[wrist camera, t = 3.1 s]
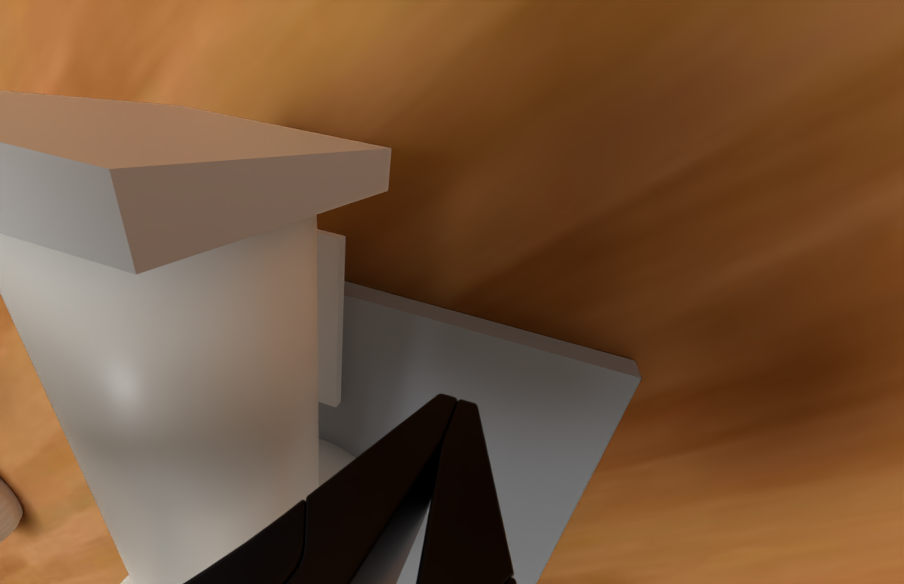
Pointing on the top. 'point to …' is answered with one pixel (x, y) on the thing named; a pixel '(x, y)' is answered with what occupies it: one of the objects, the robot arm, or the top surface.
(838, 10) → the top surface
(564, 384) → the grey square panel
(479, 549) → the robot arm
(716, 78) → the top surface
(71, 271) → the elbow
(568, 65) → the top surface
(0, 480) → the ramekin
